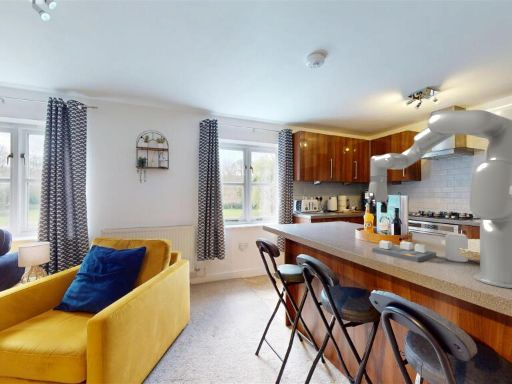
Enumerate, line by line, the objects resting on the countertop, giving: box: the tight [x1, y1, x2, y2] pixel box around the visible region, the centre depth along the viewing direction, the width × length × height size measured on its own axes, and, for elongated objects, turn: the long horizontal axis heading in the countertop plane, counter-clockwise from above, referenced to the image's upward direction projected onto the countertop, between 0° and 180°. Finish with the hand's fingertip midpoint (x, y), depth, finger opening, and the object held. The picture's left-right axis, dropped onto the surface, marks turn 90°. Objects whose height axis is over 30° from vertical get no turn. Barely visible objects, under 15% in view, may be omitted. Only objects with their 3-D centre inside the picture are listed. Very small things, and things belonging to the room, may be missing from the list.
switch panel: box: [371, 243, 437, 263], centre depth 123 cm, size 22×18×2 cm
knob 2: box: [399, 240, 414, 250], centre depth 125 cm, size 4×4×4 cm
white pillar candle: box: [444, 232, 469, 263], centre depth 111 cm, size 8×8×12 cm
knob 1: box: [378, 239, 393, 249], centre depth 127 cm, size 4×4×4 cm
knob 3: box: [414, 242, 430, 253], centre depth 119 cm, size 4×4×4 cm
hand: (378, 213), depth 124 cm, fingers open, 9 cm apart
